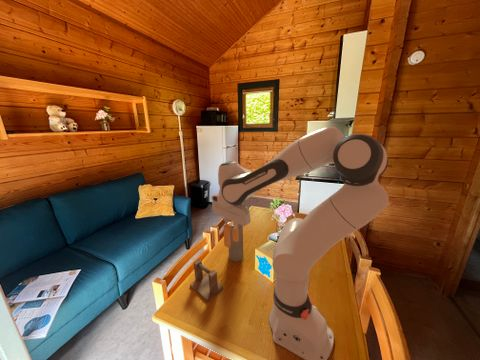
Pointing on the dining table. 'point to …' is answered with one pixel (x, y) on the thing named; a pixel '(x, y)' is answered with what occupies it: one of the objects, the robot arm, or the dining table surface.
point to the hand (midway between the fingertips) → (231, 227)
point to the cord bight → (227, 234)
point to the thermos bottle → (236, 245)
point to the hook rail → (205, 281)
